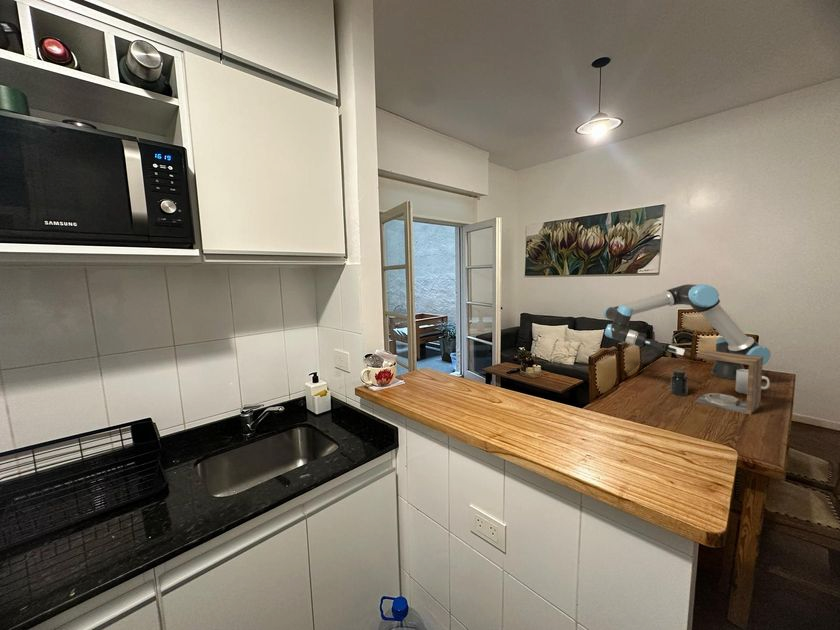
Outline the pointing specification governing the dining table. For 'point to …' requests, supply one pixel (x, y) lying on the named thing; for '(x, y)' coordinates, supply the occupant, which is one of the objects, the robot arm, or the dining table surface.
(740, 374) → the mug
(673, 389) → the supplement bottle
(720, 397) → the awning stand
